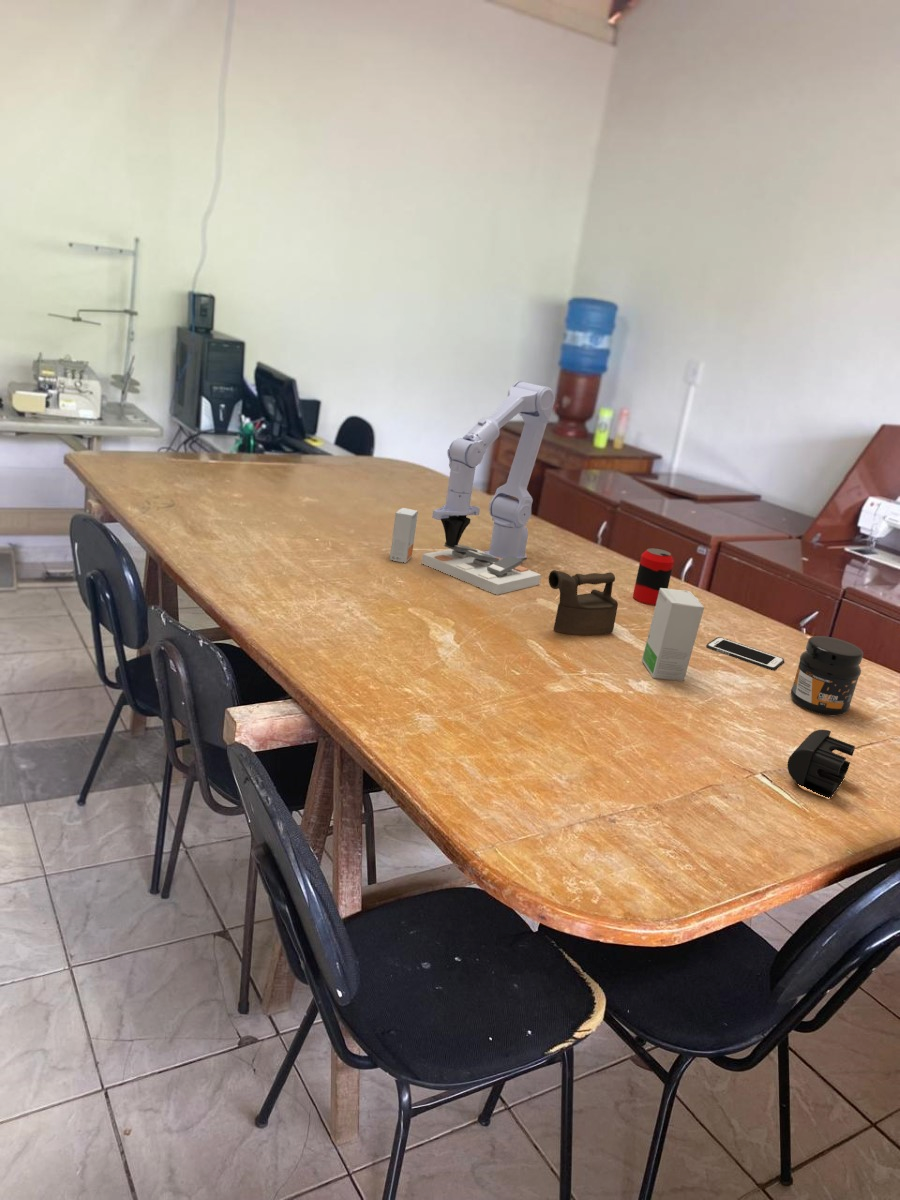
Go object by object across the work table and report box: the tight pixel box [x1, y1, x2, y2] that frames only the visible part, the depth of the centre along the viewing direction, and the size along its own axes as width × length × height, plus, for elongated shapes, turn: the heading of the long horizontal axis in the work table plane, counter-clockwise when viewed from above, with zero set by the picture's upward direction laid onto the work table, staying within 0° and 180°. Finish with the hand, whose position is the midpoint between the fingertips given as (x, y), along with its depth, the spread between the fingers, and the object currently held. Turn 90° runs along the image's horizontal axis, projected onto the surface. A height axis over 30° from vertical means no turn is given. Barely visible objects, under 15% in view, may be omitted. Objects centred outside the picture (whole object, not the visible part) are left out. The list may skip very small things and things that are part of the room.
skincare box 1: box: [389, 507, 419, 564], centre depth 216 cm, size 6×4×12 cm
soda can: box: [632, 547, 675, 606], centre depth 211 cm, size 8×8×12 cm
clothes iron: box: [548, 569, 619, 636], centre depth 185 cm, size 8×16×13 cm, turn 120°
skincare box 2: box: [641, 588, 705, 682], centre depth 169 cm, size 8×7×16 cm
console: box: [421, 545, 542, 596], centre depth 214 cm, size 16×24×3 cm, turn 47°
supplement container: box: [790, 635, 864, 716], centre depth 164 cm, size 10×10×12 cm
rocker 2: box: [466, 550, 499, 562], centre depth 213 cm, size 8×4×1 cm, turn 138°
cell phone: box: [705, 636, 785, 671], centre depth 187 cm, size 8×15×1 cm, turn 54°
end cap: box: [787, 729, 856, 799], centre depth 137 cm, size 10×7×7 cm
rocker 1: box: [443, 541, 479, 552], centre depth 217 cm, size 8×4×1 cm, turn 138°
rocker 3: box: [487, 555, 523, 576], centre depth 209 cm, size 8×4×1 cm, turn 137°
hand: (451, 545), depth 214 cm, fingers closed
